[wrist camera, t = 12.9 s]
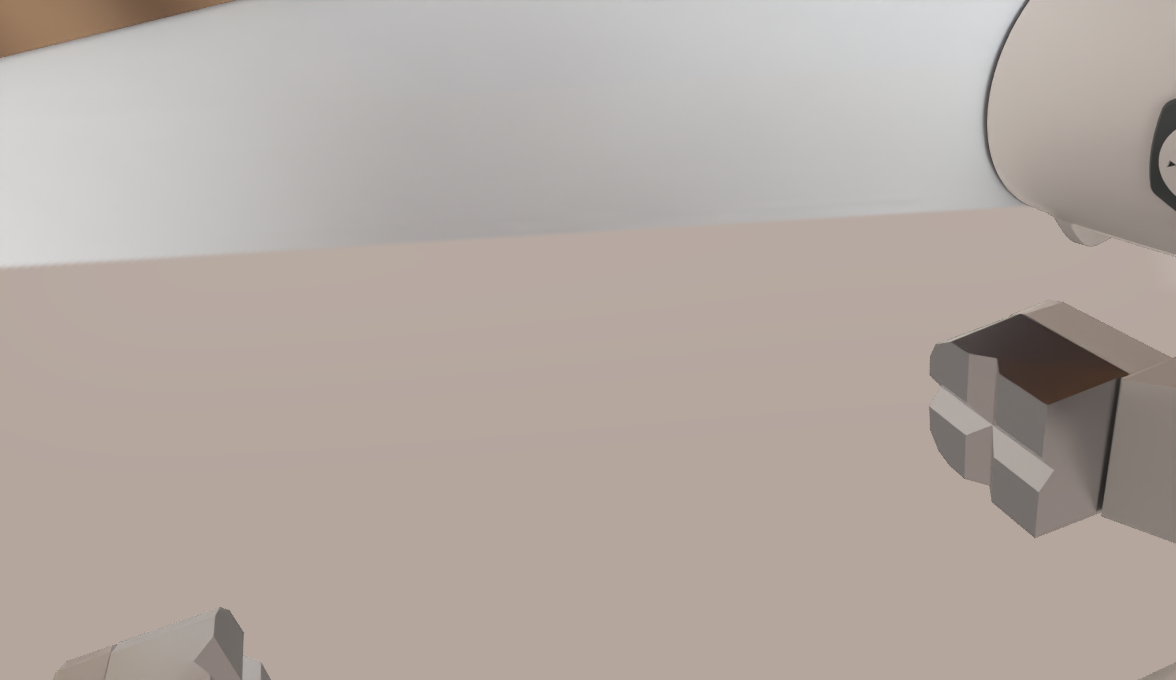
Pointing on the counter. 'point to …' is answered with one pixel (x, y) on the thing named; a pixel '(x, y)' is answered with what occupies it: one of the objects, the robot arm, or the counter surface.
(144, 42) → the counter surface
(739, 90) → the counter surface
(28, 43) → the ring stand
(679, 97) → the counter surface
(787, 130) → the counter surface
